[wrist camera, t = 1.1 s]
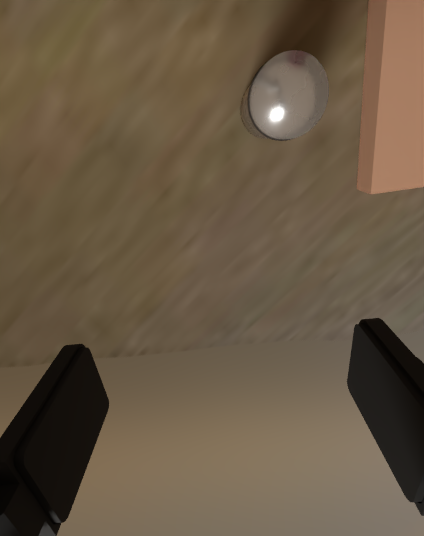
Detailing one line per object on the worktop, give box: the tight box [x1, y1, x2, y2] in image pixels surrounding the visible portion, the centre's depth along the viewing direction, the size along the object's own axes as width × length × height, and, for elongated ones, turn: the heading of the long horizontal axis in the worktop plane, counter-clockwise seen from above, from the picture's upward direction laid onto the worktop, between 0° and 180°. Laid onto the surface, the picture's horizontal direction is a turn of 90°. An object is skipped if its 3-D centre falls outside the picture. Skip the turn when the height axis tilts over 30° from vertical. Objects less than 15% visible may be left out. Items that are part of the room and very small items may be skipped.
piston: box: [240, 50, 329, 141], centre depth 23 cm, size 5×5×9 cm
